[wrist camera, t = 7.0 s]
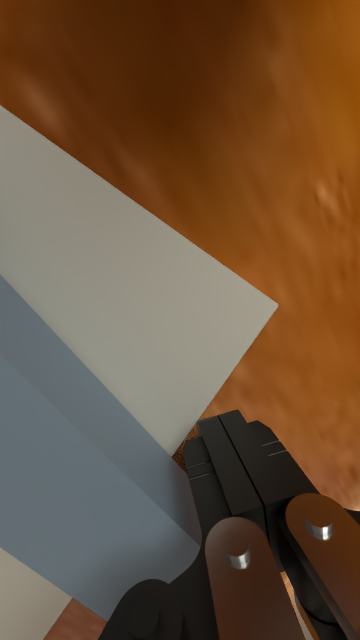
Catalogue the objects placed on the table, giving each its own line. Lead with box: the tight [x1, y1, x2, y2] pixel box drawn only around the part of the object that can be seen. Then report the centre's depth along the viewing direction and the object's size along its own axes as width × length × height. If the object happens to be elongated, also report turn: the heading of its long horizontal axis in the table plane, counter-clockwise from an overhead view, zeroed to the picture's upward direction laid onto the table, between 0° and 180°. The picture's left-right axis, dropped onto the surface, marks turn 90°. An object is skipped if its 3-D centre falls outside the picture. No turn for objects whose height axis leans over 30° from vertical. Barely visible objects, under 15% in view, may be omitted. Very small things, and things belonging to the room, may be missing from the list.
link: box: [0, 275, 202, 622], centre depth 8 cm, size 19×6×3 cm, turn 35°
